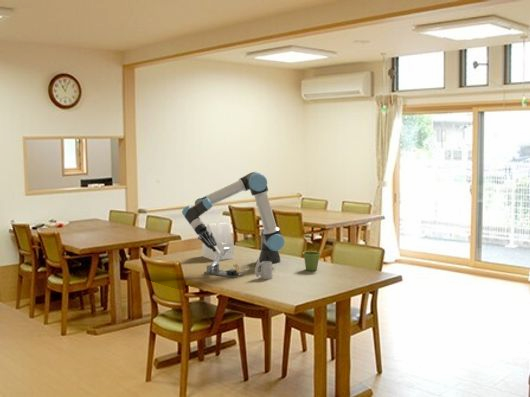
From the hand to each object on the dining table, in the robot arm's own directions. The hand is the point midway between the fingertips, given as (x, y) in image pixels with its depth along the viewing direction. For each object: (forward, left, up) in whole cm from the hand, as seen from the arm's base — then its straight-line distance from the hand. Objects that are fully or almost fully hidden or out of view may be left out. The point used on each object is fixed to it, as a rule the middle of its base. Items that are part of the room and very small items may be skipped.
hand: (219, 254), depth 387 cm
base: (-2, +3, -12) cm, 13 cm away
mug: (-19, +24, -12) cm, 33 cm away
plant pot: (-58, +18, -12) cm, 62 cm away
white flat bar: (0, 0, -2) cm, 3 cm away
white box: (-21, -49, -12) cm, 54 cm away
